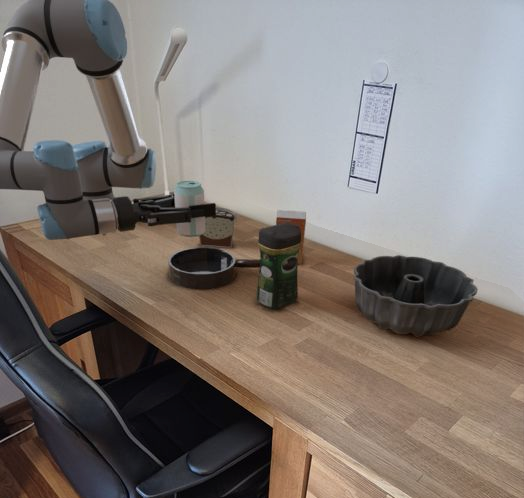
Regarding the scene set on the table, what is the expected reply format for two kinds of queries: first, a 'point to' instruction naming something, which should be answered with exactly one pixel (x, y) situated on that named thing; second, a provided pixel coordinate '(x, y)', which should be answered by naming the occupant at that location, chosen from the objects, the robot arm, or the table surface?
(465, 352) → the table surface
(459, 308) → the bundt pan
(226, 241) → the food container
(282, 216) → the small box
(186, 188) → the can
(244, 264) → the skillet handle
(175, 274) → the skillet
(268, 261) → the coffee jar
